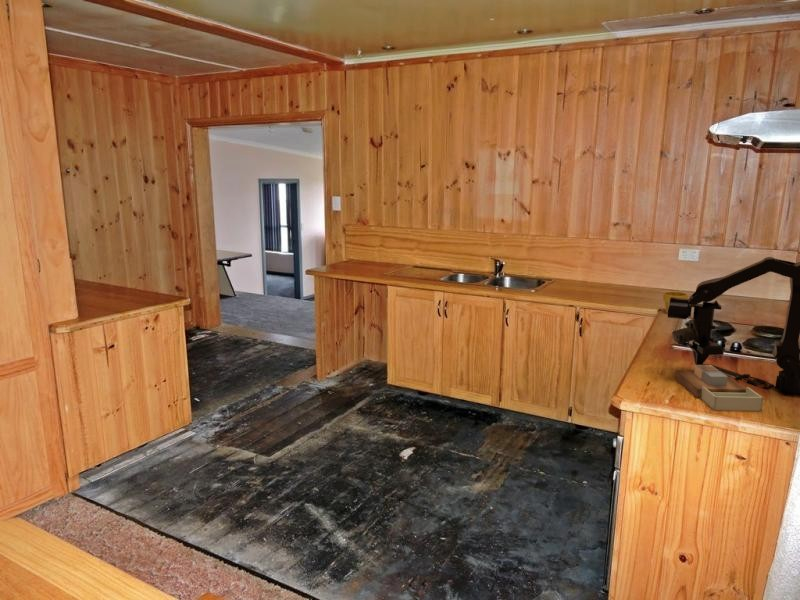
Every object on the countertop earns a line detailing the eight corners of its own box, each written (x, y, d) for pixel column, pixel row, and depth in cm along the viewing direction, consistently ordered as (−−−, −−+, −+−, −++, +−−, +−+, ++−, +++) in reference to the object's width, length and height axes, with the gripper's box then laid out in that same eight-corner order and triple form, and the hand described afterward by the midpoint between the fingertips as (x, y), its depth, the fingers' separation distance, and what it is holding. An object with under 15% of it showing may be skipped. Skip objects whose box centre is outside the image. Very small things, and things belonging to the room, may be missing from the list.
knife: (695, 365, 193) (696, 362, 193) (709, 363, 195) (710, 360, 195) (761, 391, 170) (762, 387, 170) (777, 388, 172) (777, 384, 172)
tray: (746, 399, 163) (748, 387, 162) (761, 411, 155) (763, 397, 154) (700, 399, 164) (702, 386, 163) (713, 410, 156) (715, 397, 155)
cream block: (710, 373, 176) (711, 365, 175) (717, 379, 171) (718, 370, 170) (694, 373, 176) (695, 364, 176) (701, 379, 171) (702, 370, 171)
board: (719, 379, 179) (720, 370, 178) (745, 399, 163) (746, 389, 163) (674, 378, 180) (675, 370, 180) (696, 398, 165) (697, 388, 164)
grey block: (718, 380, 170) (719, 370, 170) (726, 386, 166) (727, 376, 165) (701, 379, 171) (702, 370, 170) (709, 385, 166) (710, 376, 165)
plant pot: (665, 316, 259) (667, 295, 257) (659, 310, 269) (660, 291, 267) (689, 316, 258) (691, 296, 255) (681, 311, 268) (683, 291, 265)
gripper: (665, 313, 185) (661, 357, 189) (689, 328, 167) (684, 377, 171) (699, 313, 185) (695, 358, 188) (727, 329, 166) (721, 377, 170)
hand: (697, 367), depth 179 cm, fingers closed
